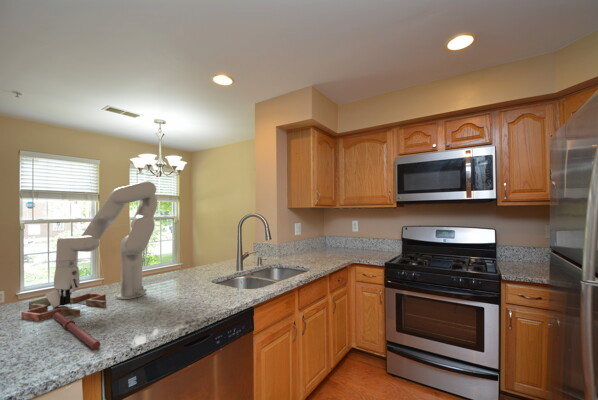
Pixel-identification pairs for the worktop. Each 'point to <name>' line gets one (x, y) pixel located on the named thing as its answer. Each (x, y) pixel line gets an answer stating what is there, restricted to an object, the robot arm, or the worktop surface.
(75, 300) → the box
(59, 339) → the worktop surface
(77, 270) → the robot arm
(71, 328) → the red collared rod
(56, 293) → the white cylinder
